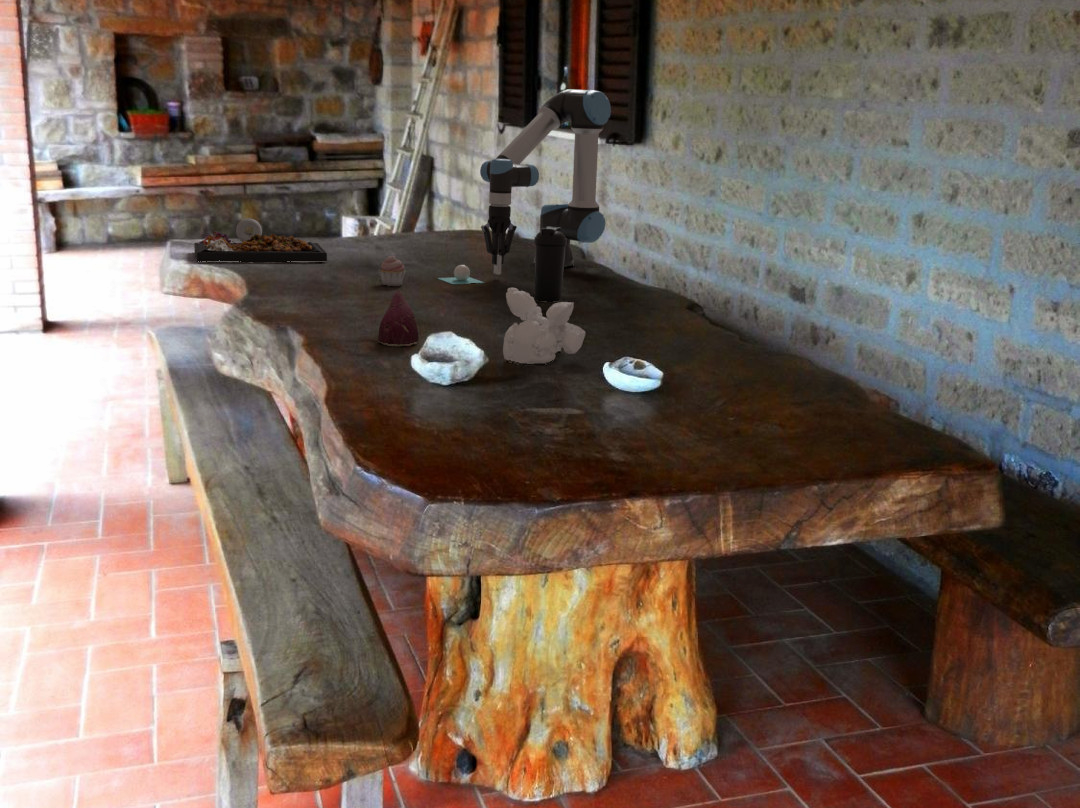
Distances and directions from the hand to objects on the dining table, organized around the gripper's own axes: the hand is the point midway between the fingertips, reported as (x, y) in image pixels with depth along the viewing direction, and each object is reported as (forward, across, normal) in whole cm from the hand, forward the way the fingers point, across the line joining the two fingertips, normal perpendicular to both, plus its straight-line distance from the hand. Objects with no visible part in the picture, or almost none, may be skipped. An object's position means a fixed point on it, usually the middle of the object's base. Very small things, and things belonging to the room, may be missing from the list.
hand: (497, 273), depth 397 cm
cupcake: (+2, +40, +2) cm, 40 cm away
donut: (+2, +58, -99) cm, 115 cm away
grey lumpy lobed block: (+2, +45, +109) cm, 118 cm away
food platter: (+3, +64, -64) cm, 90 cm away
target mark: (+2, +14, 0) cm, 14 cm away
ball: (-1, +14, 0) cm, 14 cm away
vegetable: (+2, +72, +82) cm, 109 cm away
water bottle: (+2, +3, +40) cm, 40 cm away
